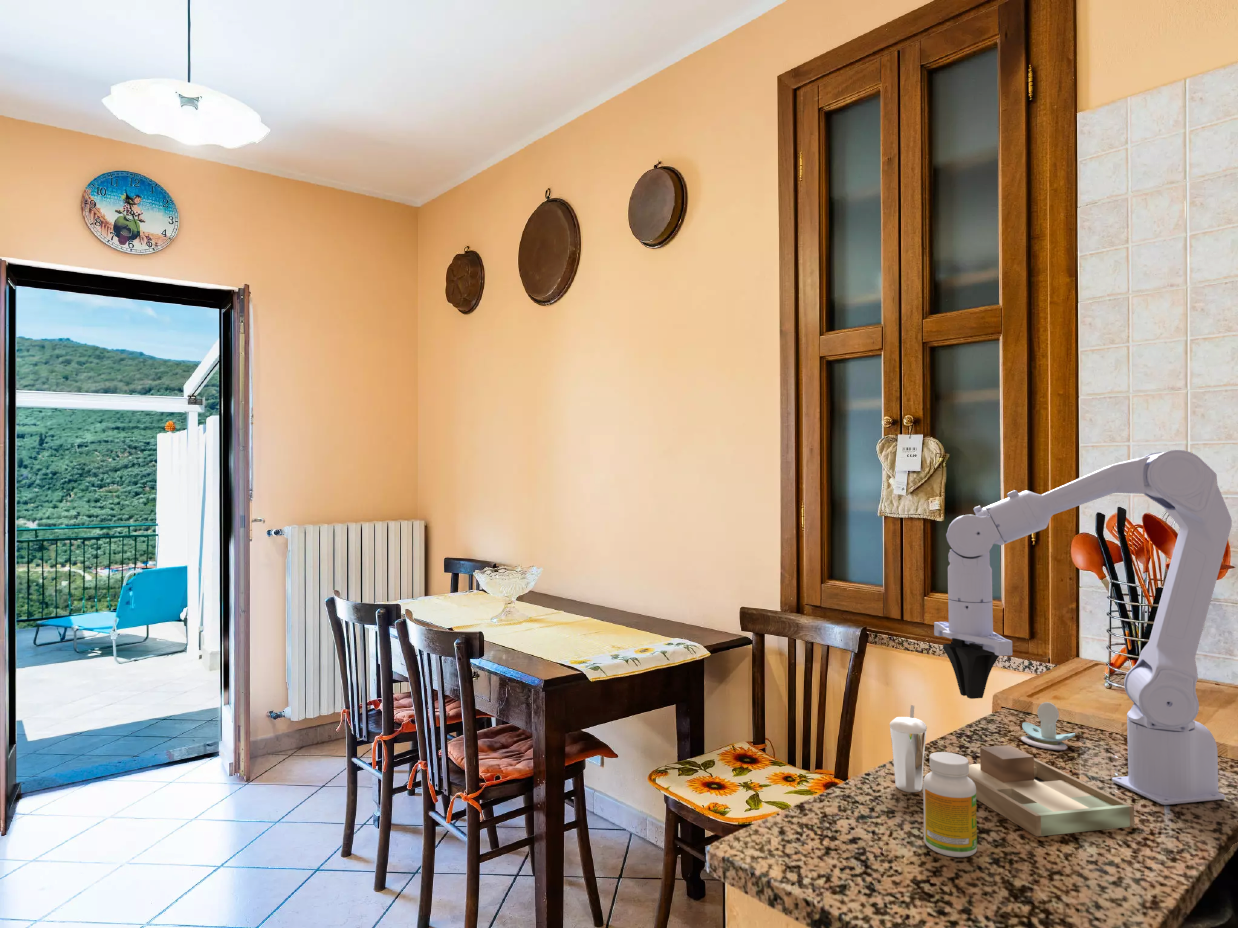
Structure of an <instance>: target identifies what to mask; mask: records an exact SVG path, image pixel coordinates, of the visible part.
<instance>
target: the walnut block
mask: <svg viewBox="0 0 1238 928" xmlns="http://www.w3.org/2000/svg"><path fill="white" fill-rule="evenodd" d="M979 752H980V753H979V754H980V755H979V756H980V759H979V760H980V761H979V762H980V763H979V764H980V768H981V770H982V771H983V772H985V773H987V774H989V775H990V776H992V777H994V778H996V779H998V780H999V781H1001V782H1003V783H1006V782H1017V781H1029V780H1034V758H1035V757H1034V756H1033V755H1031V754H1029V753H1027V752H1025V751H1023V750H1021V749H1018V748H1016V747H1014V746H1012V745H1010V744H1007V745H1006V744H1005V745H996V746H995V745H994V746H981V747H980V748H979Z"/></svg>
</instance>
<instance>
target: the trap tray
mask: <svg viewBox="0 0 1238 928" xmlns="http://www.w3.org/2000/svg"><path fill="white" fill-rule="evenodd" d="M967 777H969V778H970V779H971V780H972V781H973V782H974V783H975V786H976V801H978V802H981V804H983V805H985V806H987V807H989V808H990V809H991V810H992V811H995V812H996V813H998V814H1000V815H1001V816H1003V817H1004V818H1006V819H1007V820H1009V821H1010V822H1012V823H1014V824H1015V825H1017V826H1019V827H1020V828H1022V829H1024V830H1025V831H1027V832H1028V833H1030V834H1032V835H1033V836H1035V837H1044V836H1045V837H1046V836H1052V835H1053V836H1054V835H1064V834H1073V833H1080V832H1081V833H1083V832H1092V831H1102V830H1112V829H1120V828H1121V829H1122V828H1130V827H1135V806H1134V805H1132V804H1130V803H1128V802H1126V801H1124V800H1122V799H1119V797H1118V798H1117V797H1115V796H1114V795H1112V794H1110V793H1108V792H1105V791H1104V790H1101V789H1100V788H1097V787H1095V786H1092V785H1091V784H1089V783H1087V782H1084V781H1083V780H1081V779H1078V778H1076V777H1075V776H1072V775H1070V774H1068V773H1067V772H1064V771H1062V770H1060V769H1059V768H1056V767H1053V766H1052V765H1049V764H1047V763H1045V762H1044V761H1041V760H1039V759H1037V758H1035V757H1034V780H1029V781H1017V782H1006V783H1003V782H1001V781H999V780H998V779H996V778H994V777H992V776H990V775H989V774H987V773H985V772H983V771H982V770H981V768H980V763H973V764H970V763H969V774H968V775H967Z"/></svg>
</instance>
